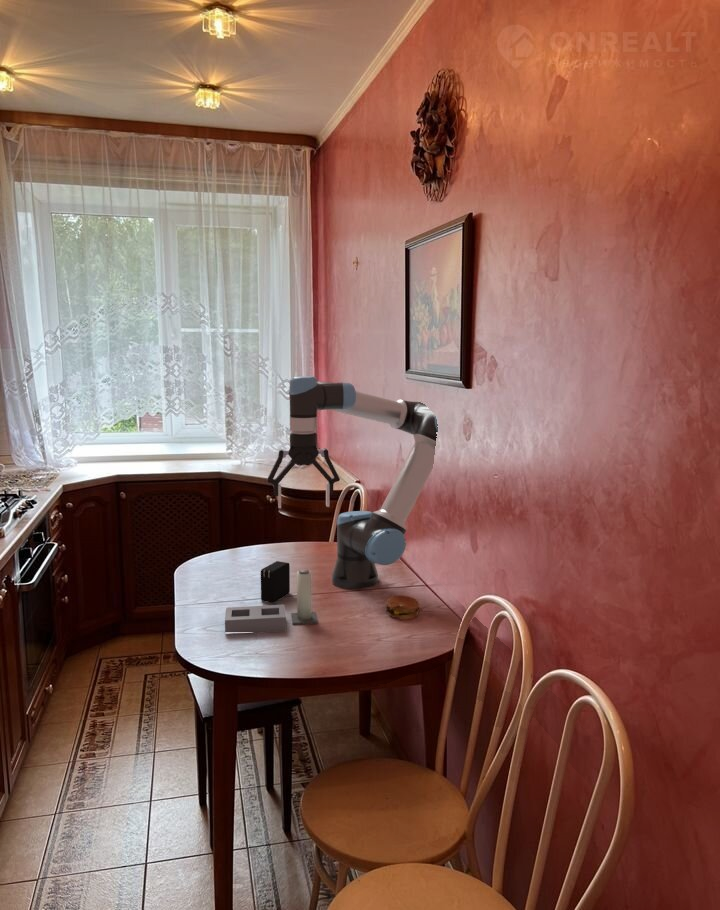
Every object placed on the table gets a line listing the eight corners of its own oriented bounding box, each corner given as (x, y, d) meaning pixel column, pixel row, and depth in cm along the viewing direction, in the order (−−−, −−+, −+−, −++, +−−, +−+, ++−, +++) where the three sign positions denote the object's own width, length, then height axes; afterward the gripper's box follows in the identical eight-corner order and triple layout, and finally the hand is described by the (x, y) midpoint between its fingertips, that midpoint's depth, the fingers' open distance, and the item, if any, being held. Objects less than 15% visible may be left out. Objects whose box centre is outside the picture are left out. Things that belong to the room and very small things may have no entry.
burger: (414, 606, 200) (415, 591, 199) (423, 619, 191) (423, 603, 190) (382, 609, 198) (382, 593, 198) (389, 621, 189) (389, 605, 188)
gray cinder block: (284, 618, 191) (284, 604, 190) (285, 631, 182) (285, 617, 181) (226, 621, 188) (226, 607, 188) (225, 634, 179) (224, 620, 179)
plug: (311, 614, 192) (310, 568, 190) (312, 619, 188) (311, 572, 186) (296, 614, 191) (296, 568, 189) (297, 620, 188) (297, 573, 185)
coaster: (315, 613, 194) (315, 611, 194) (318, 623, 187) (318, 621, 187) (291, 615, 193) (291, 613, 193) (292, 624, 186) (292, 622, 186)
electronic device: (290, 593, 210) (289, 562, 208) (272, 604, 201) (272, 571, 199) (278, 591, 212) (278, 560, 210) (260, 601, 203) (260, 569, 201)
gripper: (346, 430, 194) (345, 502, 197) (258, 431, 190) (259, 504, 194) (349, 433, 187) (349, 508, 190) (258, 434, 183) (259, 510, 186)
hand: (303, 506), depth 192 cm, fingers open, 13 cm apart
